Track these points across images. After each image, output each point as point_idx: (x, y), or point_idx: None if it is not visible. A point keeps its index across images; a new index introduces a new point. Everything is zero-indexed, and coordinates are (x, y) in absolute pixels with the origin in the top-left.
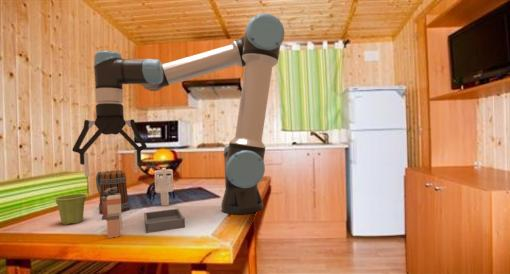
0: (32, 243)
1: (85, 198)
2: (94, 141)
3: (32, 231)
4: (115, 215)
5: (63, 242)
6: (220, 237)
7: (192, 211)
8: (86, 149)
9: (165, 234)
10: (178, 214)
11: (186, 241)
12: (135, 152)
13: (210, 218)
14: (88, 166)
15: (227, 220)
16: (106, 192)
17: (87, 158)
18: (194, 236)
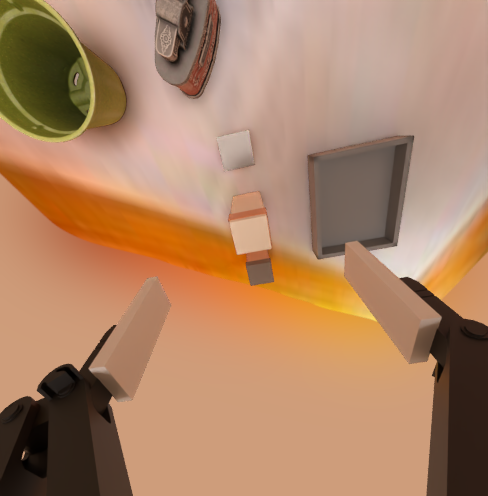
0: (123, 250)
1: (89, 60)
2: (103, 486)
3: (51, 165)
4: (266, 280)
5: (179, 259)
6: None
7: (456, 81)
8: (115, 430)
9: (344, 266)
10: (397, 179)
11: None
12: (412, 357)
13: (460, 188)
14: (143, 305)
15: (482, 217)
16: (171, 59)
17: (137, 361)
18: None
